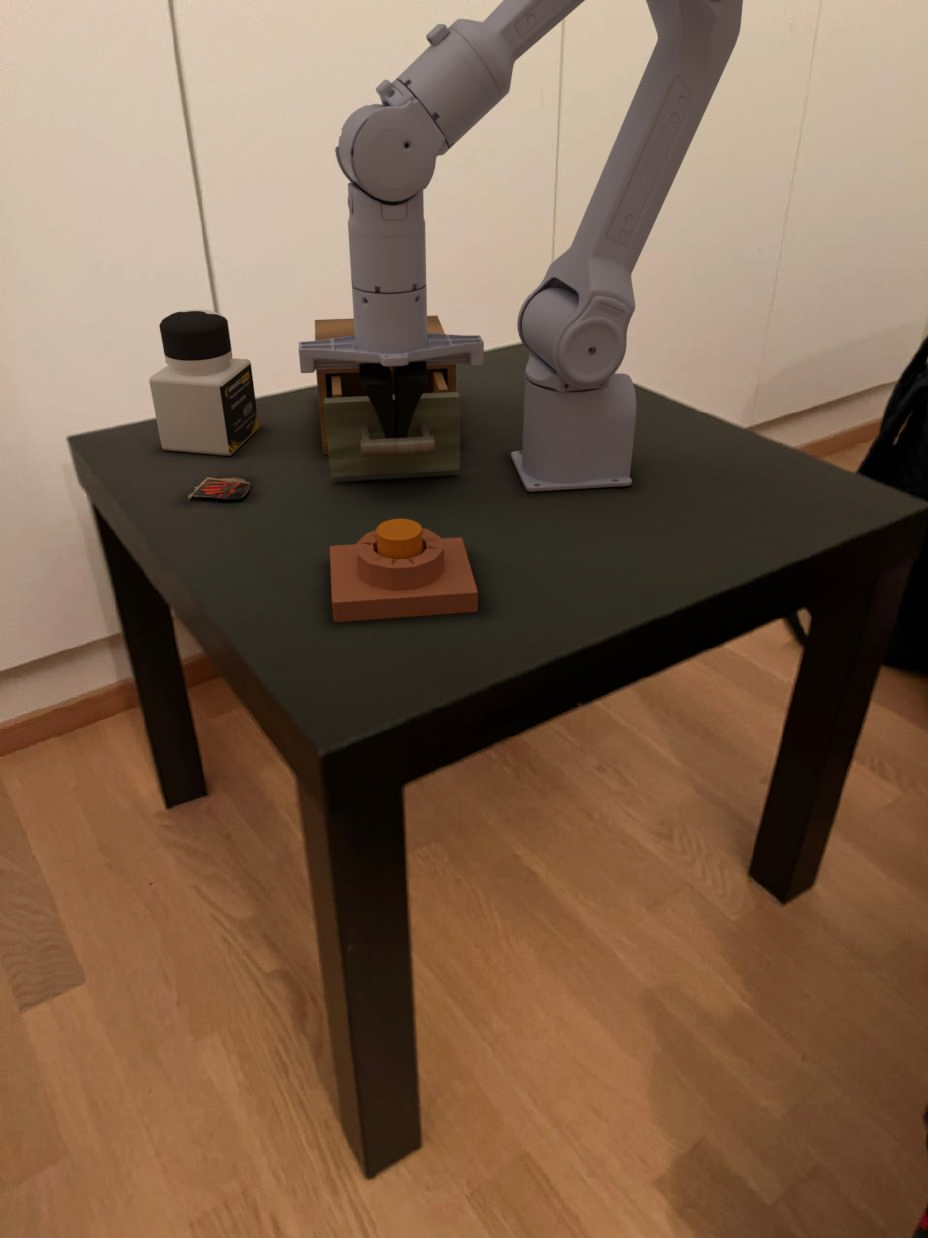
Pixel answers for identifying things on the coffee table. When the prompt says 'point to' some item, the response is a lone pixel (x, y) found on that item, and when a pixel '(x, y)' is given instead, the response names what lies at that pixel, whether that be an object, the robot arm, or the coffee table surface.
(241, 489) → the matchbox
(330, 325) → the cabinet
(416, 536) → the button
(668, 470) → the coffee table surface
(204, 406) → the medicine bottle
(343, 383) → the drawer
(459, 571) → the button box
